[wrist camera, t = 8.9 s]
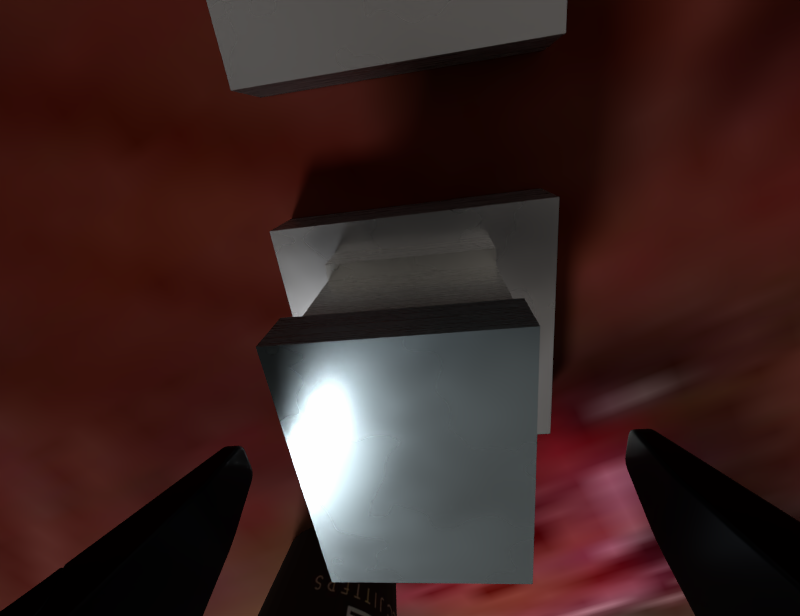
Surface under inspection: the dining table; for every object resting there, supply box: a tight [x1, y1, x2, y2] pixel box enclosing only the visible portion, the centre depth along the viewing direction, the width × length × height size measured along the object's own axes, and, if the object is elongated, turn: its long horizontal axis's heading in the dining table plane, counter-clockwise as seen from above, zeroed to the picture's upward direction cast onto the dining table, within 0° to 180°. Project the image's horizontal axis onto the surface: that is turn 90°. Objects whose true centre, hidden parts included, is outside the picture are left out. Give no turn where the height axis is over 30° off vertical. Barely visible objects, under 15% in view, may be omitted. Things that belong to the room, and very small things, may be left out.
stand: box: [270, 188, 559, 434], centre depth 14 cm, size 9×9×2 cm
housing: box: [256, 238, 540, 584], centre depth 11 cm, size 5×7×6 cm
